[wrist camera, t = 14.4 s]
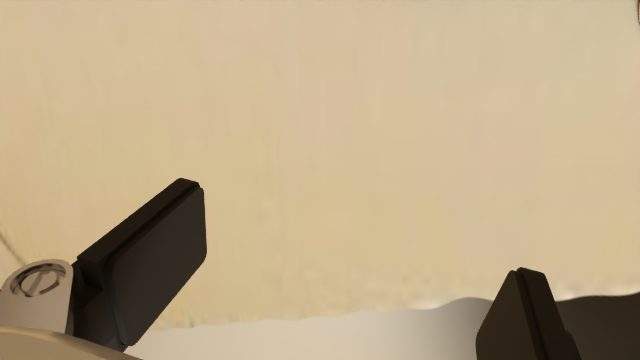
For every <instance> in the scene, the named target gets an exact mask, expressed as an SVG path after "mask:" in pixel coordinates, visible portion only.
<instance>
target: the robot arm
mask: <svg viewBox="0 0 640 360" xmlns="http://www.w3.org/2000/svg"><path fill="white" fill-rule="evenodd" d="M639 20H640V4H639ZM206 254H207V244H206V225H205V205H204V190H203V189H202V188H200V185H199V183H198V182H195V181H191V180H188V179H184V178H179V179H177V180H176V181H174V182H173V183H172V184H170V185H169V186H168V187H167V188H165V189H164V190H163V191H161V192H160V193H159V194H158V195H156V196H155V197H154V198H152V199H151V200H150V201H148V202H147V203H146V204H145V205H143V206H142V207H141V208H139V209H138V210H137V211H135V212H134V213H133V214H132V215H130V216H129V217H128V218H126V219H125V220H124V221H123V222H121V223H120V224H119V225H117V226H116V227H115V228H113V229H112V230H111V231H110V232H108V233H107V234H106V235H104V236H103V237H102V238H100V239H99V240H98V241H97V242H95V243H94V244H93V245H91V246H90V247H89V248H88V249H86V250H85V251H84V252H82V253H81V254H80V255H78V256H77V261H76V262H74V263H73V264H72V265H70V264H69V263H68V262H66V261H63V260H58V259H47V260H41V261H37V262H33V263H30V264H28V265H26V266H23V267H21V268H20V269H18V270H17V271H15V272H13V273H12V274H11V275H10V276H9V277H8V278H7V279H6V281H5V282H4V284H3V286H2V288H1V290H0V360H142V359H139V358H136V357H133V356H131V355H128V354H125V353H123V352H124V351H125V349H126V348H127V347H128V346H133V345H135V344H136V343H137V342H138V341H139V339H140V338H141V337H142V336H143V335H144V333H145V332H146V331H147V330H148V328H149V327H150V326H151V325H152V324H153V322H154V321H155V320H156V319H157V318H158V316H159V315H160V314H161V313H162V312H163V310H164V309H165V308H166V307H167V305H168V304H169V303H170V302H171V301H172V299H173V298H174V297H175V296H176V295H177V293H178V292H179V291H180V290H181V288H182V287H183V286H184V285H185V284H186V282H187V281H188V280H189V279H190V278H191V276H192V275H193V274H194V273H195V272H196V270H197V269H198V268H199V267H200V265H201V264H202V263H203V262H204V260H205V258H206ZM476 354H477V360H581V357H580V354H579V352H578V349H577V347H576V344H575V341H574V339H573V337H572V335H571V334H570V333H569V332H568V331H567V330H565V328H564V326H563V323H562V320H561V317H560V314H559V312H558V309H557V306H556V303H555V301H554V298H553V295H552V292H551V290H550V287H549V284H548V281H547V279H546V276H545V274H543V273H541V272H538V271H534V270H530V269H526V268H522V267H520V268H518V269H517V271H513V270H511V271H510V272H509V273H508V275H507V277H506V279H505V281H504V283H503V285H502V287H501V288H500V290H499V292H498V294H497V296H496V298H495V300H494V302H493V304H492V306H491V308H490V310H489V312H488V314H487V316H486V317H485V319H484V321H483V323H482V325H481V327H480V329H479V332H478V333H477V337H476Z"/></svg>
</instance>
